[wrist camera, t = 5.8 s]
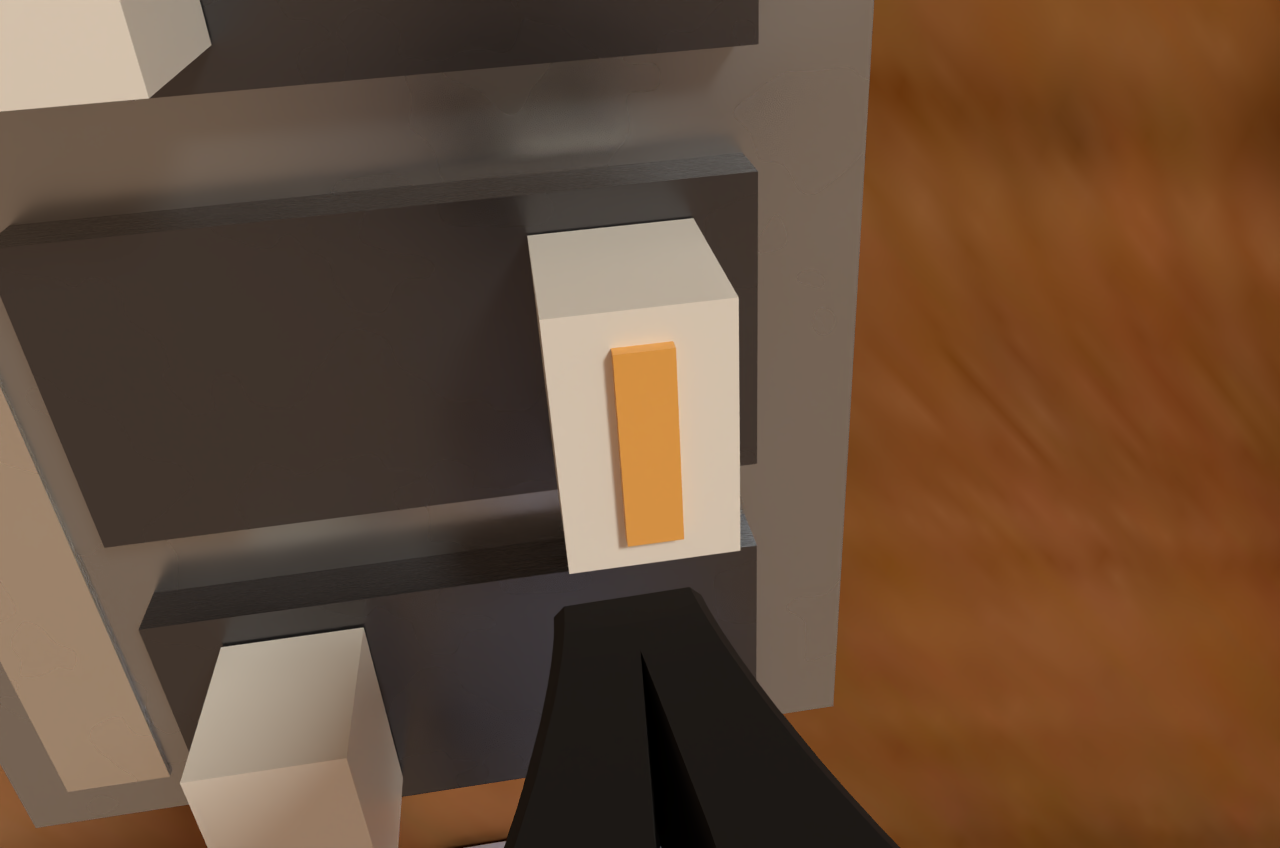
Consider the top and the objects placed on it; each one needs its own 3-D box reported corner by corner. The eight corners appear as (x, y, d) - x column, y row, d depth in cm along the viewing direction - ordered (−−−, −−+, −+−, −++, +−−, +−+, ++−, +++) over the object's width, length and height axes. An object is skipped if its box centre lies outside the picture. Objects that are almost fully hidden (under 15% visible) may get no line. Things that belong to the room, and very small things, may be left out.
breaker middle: (699, 443, 17) (743, 559, 15) (554, 462, 17) (570, 583, 14) (693, 218, 15) (742, 304, 13) (527, 236, 15) (540, 326, 12)
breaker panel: (816, 668, 24) (847, 740, 22) (56, 781, 22) (17, 870, 20) (868, -447, 13) (933, -492, 11) (-555, -387, 12) (-749, -426, 10)
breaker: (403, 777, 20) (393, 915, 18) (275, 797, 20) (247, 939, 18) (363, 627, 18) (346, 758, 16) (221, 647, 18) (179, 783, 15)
